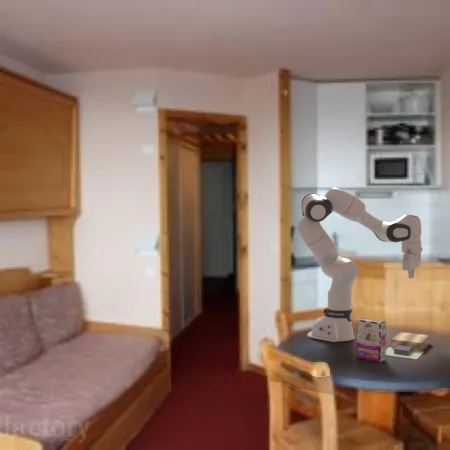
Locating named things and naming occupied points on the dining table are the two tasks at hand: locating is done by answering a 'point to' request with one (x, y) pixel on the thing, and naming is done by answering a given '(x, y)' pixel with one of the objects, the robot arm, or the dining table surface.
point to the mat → (412, 355)
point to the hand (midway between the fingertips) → (411, 278)
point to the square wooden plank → (411, 340)
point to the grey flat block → (403, 349)
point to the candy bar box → (371, 340)
